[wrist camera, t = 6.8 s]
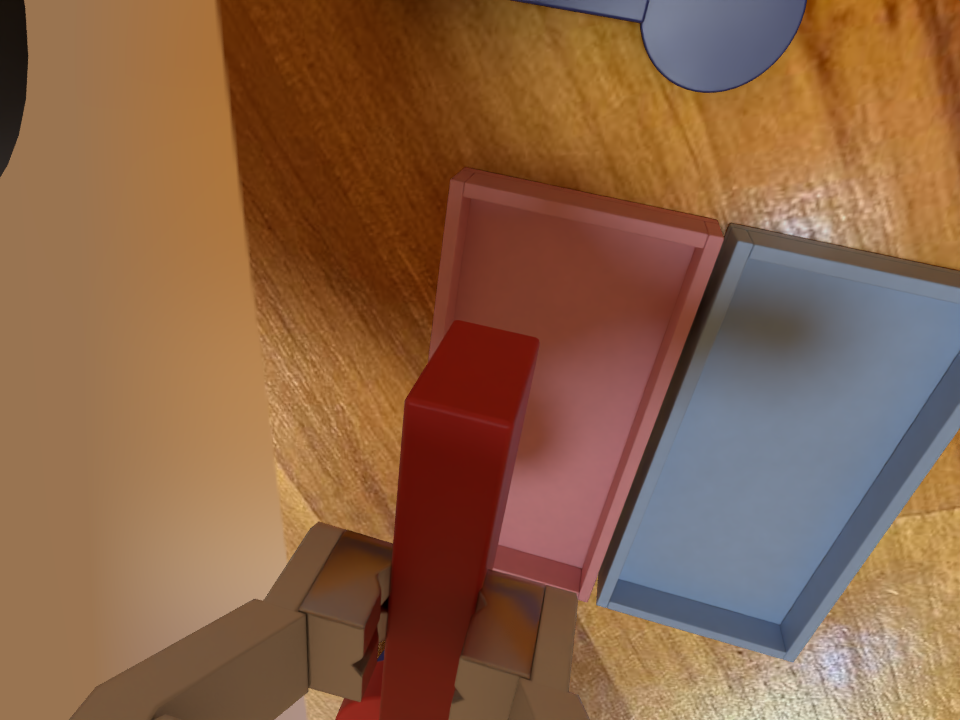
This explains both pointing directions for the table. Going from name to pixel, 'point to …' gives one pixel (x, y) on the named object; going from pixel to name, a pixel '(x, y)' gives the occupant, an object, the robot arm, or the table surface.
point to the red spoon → (447, 514)
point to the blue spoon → (704, 35)
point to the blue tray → (786, 439)
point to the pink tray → (573, 347)
